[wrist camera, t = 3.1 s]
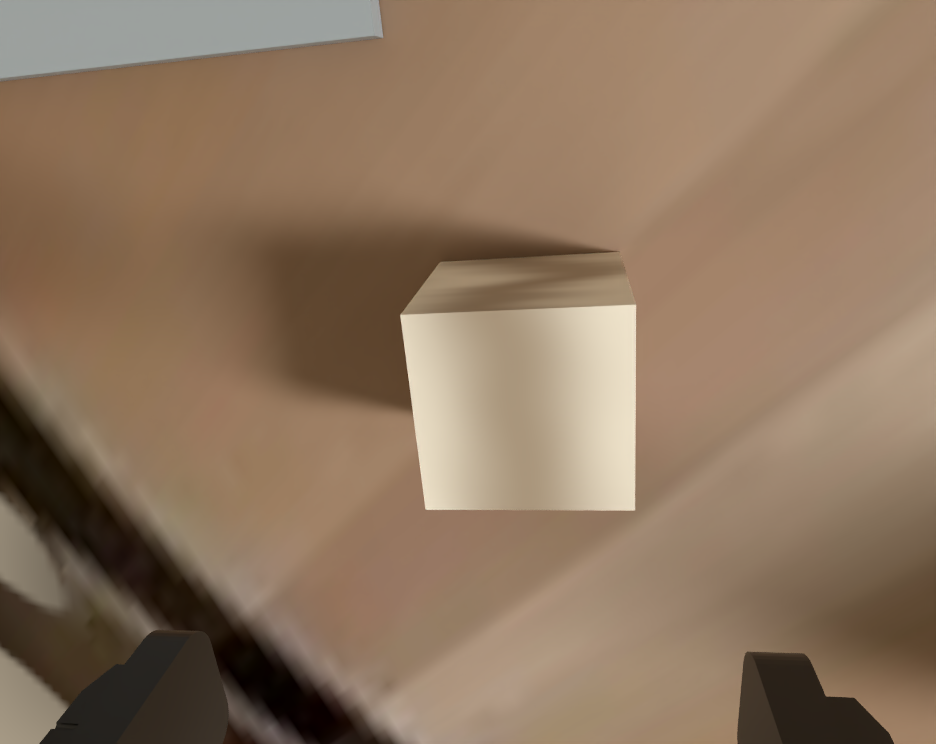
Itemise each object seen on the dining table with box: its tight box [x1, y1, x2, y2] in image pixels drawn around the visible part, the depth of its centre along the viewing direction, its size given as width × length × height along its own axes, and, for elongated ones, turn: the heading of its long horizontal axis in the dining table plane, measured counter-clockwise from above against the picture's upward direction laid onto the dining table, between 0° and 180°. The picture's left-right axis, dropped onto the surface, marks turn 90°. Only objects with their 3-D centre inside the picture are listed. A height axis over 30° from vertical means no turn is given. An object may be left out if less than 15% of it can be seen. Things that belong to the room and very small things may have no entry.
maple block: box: [400, 252, 636, 510], centre depth 21 cm, size 6×6×6 cm
